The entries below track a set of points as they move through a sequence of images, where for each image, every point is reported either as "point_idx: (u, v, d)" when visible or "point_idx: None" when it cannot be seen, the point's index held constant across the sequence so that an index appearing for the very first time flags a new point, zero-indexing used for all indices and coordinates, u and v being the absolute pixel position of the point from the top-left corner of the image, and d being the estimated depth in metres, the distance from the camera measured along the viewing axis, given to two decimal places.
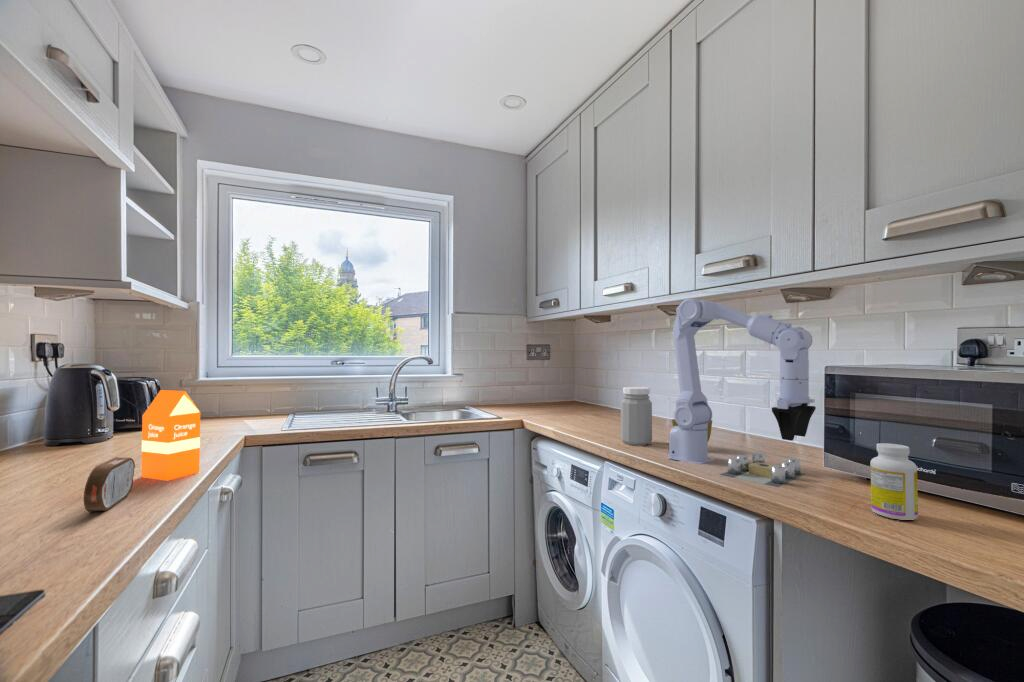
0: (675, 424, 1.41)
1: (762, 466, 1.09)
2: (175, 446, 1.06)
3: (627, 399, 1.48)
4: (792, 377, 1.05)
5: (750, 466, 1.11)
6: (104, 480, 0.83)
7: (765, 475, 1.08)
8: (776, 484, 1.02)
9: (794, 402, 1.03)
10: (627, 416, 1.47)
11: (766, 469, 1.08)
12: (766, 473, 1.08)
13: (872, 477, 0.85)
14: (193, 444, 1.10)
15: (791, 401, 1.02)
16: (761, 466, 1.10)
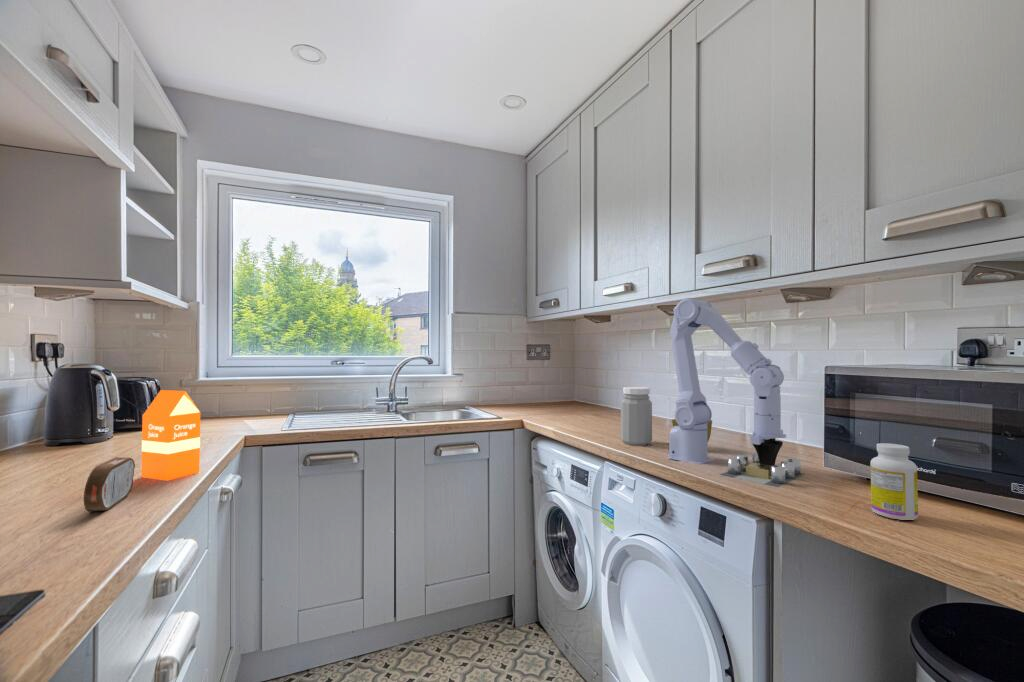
0: (675, 424, 1.41)
1: (759, 467, 1.08)
2: (175, 446, 1.06)
3: (627, 399, 1.48)
4: (765, 413, 1.10)
5: (747, 467, 1.10)
6: (104, 480, 0.83)
7: (763, 476, 1.07)
8: (776, 484, 1.02)
9: (766, 438, 1.08)
10: (627, 416, 1.47)
11: (764, 470, 1.07)
12: (764, 474, 1.07)
13: (872, 477, 0.85)
14: (193, 444, 1.10)
15: (763, 437, 1.08)
16: (758, 467, 1.09)
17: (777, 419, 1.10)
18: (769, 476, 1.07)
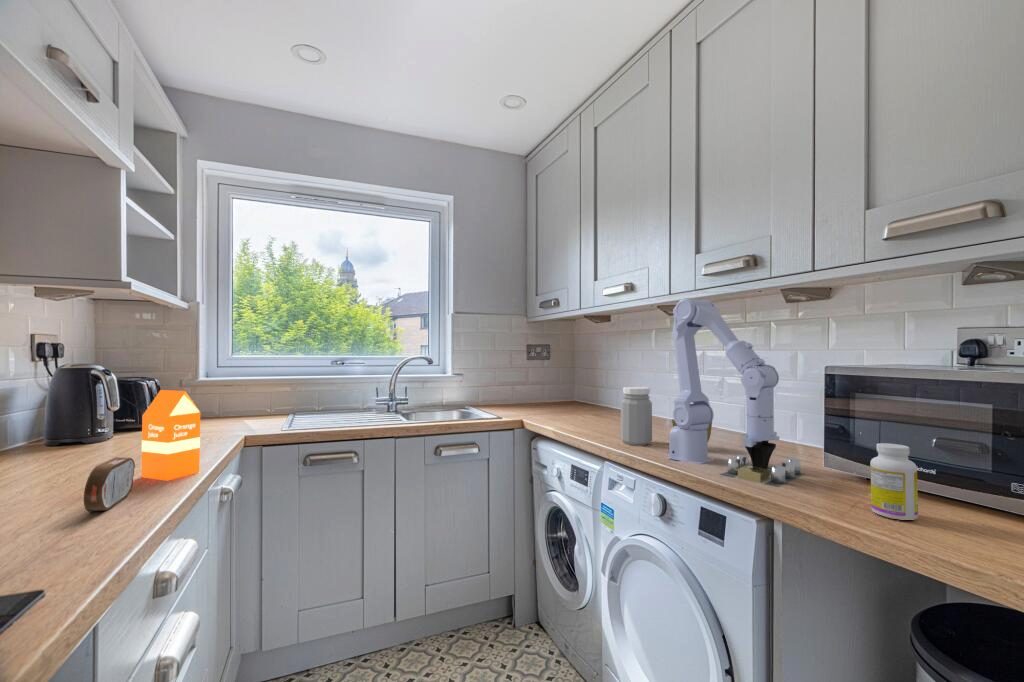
0: (675, 424, 1.41)
1: (752, 470, 1.06)
2: (175, 446, 1.06)
3: (627, 399, 1.48)
4: (755, 414, 1.08)
5: (739, 470, 1.07)
6: (104, 480, 0.83)
7: (755, 479, 1.04)
8: (776, 484, 1.02)
9: (759, 440, 1.05)
10: (627, 416, 1.47)
11: (756, 473, 1.04)
12: (756, 478, 1.04)
13: (872, 477, 0.85)
14: (193, 444, 1.10)
15: (756, 439, 1.05)
16: (751, 470, 1.06)
17: (770, 421, 1.07)
18: (761, 479, 1.04)
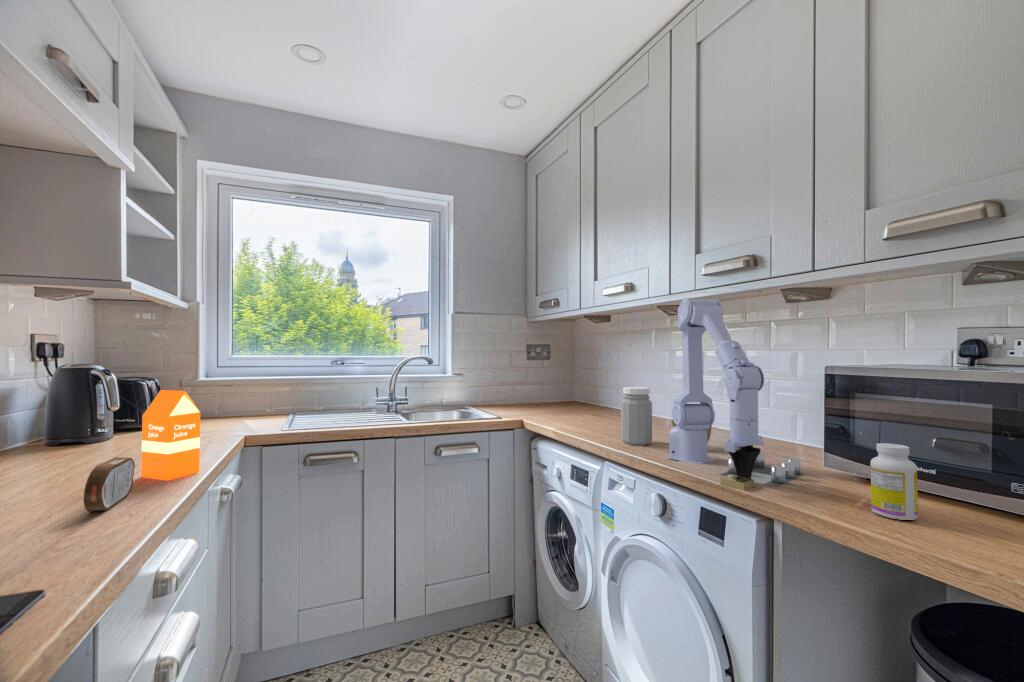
0: (675, 424, 1.41)
1: (735, 480, 1.00)
2: (175, 446, 1.06)
3: (627, 399, 1.48)
4: (734, 417, 1.03)
5: (722, 479, 1.02)
6: (104, 480, 0.83)
7: None
8: (776, 484, 1.02)
9: (742, 444, 1.00)
10: (627, 416, 1.47)
11: (739, 483, 0.99)
12: (739, 488, 0.99)
13: (872, 477, 0.85)
14: (193, 444, 1.10)
15: (739, 444, 1.00)
16: (734, 480, 1.00)
17: (754, 424, 1.01)
18: None
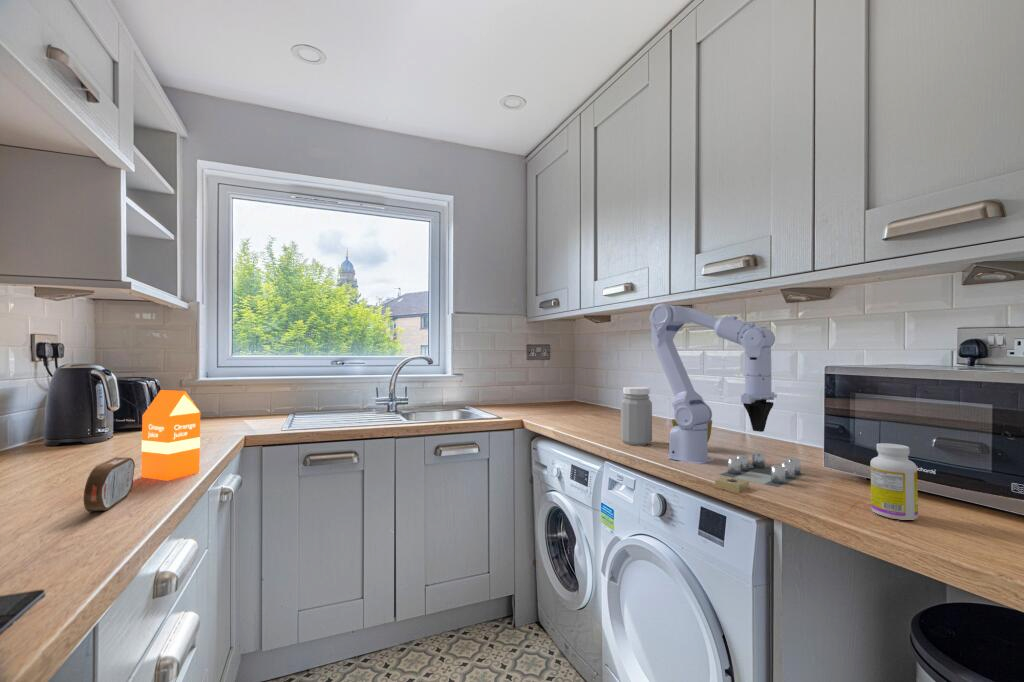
0: (675, 424, 1.41)
1: (730, 482, 0.99)
2: (175, 446, 1.06)
3: (627, 399, 1.48)
4: (756, 374, 1.11)
5: (717, 482, 1.00)
6: (104, 480, 0.83)
7: None
8: (776, 484, 1.02)
9: (757, 397, 1.09)
10: (627, 416, 1.47)
11: (734, 485, 0.97)
12: (734, 490, 0.97)
13: (872, 477, 0.85)
14: (193, 444, 1.10)
15: (754, 396, 1.09)
16: (729, 482, 0.99)
17: (768, 379, 1.11)
18: None
